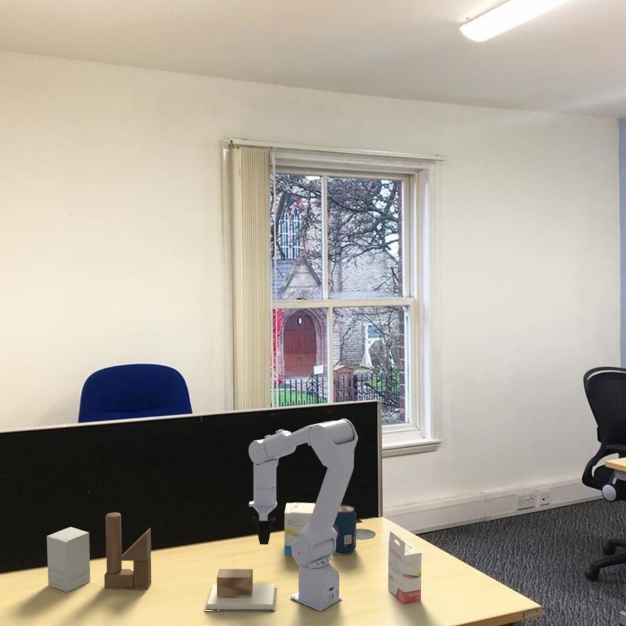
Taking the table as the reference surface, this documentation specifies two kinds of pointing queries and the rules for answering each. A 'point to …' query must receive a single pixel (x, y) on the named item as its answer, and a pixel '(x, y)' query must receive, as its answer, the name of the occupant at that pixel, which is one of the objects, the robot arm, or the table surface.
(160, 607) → the table surface
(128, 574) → the wooden block
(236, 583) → the block
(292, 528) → the ink box
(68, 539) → the supplement box
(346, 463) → the robot arm
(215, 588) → the marked board
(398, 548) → the ink cartridge box
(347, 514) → the soda can
